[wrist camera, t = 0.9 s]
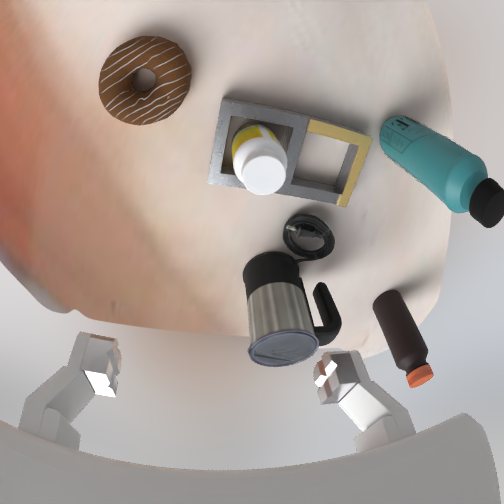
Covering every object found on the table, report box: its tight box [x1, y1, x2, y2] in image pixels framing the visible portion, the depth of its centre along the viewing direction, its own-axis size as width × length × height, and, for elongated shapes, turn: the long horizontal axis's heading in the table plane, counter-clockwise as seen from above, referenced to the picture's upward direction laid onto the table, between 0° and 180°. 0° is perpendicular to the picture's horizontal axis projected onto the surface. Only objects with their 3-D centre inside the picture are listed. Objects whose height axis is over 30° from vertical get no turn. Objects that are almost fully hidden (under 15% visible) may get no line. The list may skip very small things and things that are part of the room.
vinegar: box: [373, 291, 434, 388], centre depth 46 cm, size 7×7×20 cm
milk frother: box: [243, 214, 342, 367], centre depth 38 cm, size 14×16×15 cm
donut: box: [99, 36, 191, 125], centre depth 24 cm, size 11×11×4 cm
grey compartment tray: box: [208, 98, 373, 207], centre depth 32 cm, size 10×18×3 cm, turn 78°
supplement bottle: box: [232, 123, 287, 195], centre depth 28 cm, size 5×5×10 cm
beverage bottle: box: [380, 115, 504, 228], centre depth 24 cm, size 6×7×20 cm
